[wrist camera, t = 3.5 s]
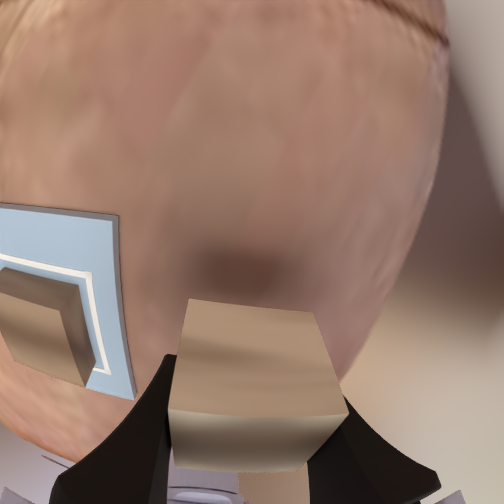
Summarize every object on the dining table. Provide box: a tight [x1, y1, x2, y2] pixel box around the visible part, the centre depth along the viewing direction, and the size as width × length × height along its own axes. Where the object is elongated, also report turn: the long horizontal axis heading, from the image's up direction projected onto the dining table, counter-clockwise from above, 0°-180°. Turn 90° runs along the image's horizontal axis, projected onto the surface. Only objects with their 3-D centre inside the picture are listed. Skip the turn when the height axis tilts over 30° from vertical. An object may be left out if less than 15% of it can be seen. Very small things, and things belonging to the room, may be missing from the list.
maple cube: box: [168, 299, 349, 472], centre depth 10 cm, size 5×5×5 cm
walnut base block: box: [0, 267, 96, 387], centre depth 16 cm, size 8×8×3 cm
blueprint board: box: [0, 203, 137, 400], centre depth 18 cm, size 18×14×1 cm
